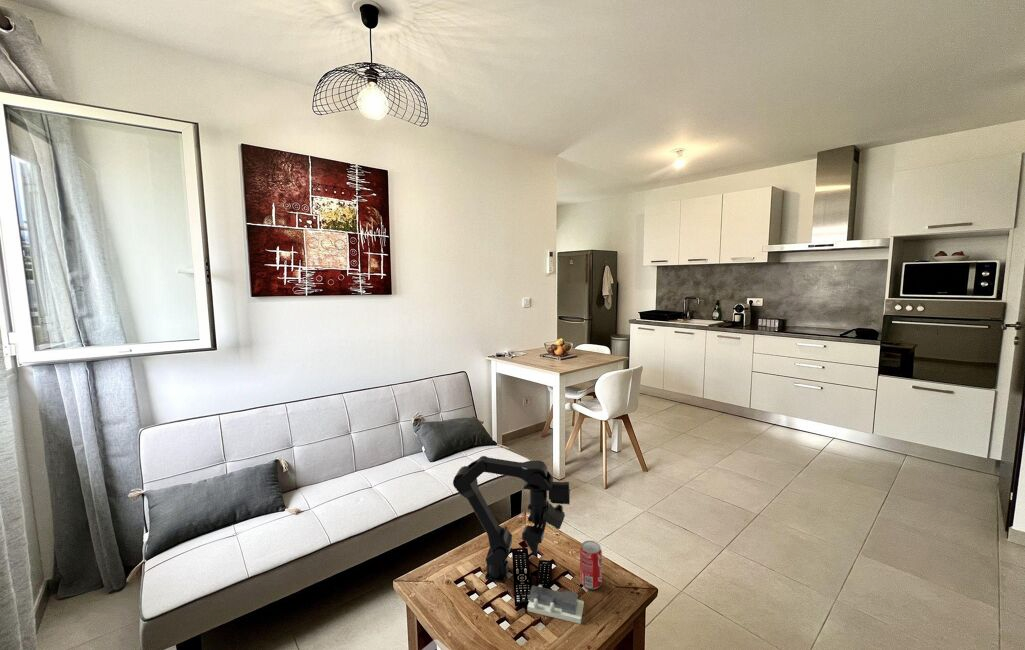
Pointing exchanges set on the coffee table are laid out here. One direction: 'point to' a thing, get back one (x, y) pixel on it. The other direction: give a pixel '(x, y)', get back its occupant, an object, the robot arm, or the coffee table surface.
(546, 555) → the coffee table surface
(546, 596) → the grey t-shaped plate
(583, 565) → the soda can
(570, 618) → the rack
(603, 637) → the coffee table surface
